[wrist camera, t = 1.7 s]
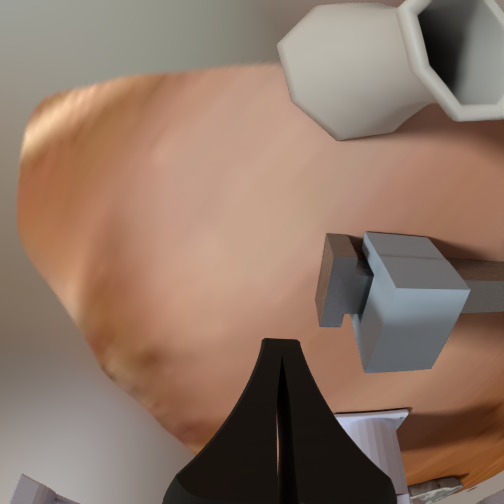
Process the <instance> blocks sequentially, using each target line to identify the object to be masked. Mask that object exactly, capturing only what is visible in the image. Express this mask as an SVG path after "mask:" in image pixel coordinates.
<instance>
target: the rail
mask: <svg viewBox="0 0 504 504" xmlns="http://www.w3.org/2000/svg"><path fill="white" fill-rule="evenodd" d="M445 259H446V260H448V261H449V263H450V264H451V265H452V266H453V268H454V269H455V270H456V271H457V273H458V274H459V275H460V276H461V278H462V279H463V280H464V282H465V283H466V284H467V286H468V287H469V288H470V293H469V295H468V297H467V300H466V302H465V304H464V306H463V308H462V311H461V313H485V312H504V262H494V261H480V260H466V259H452V258H445ZM373 278H374V273H373V271H372V269H371V267H370V265H369V263H368V260H367V258H366V256H365V254H364V252H355V250H354V248H353V246H352V244H351V242H350V239H349V237H348V235H340V234H327V233H326V238H325V245H324V251H323V257H322V264H321V270H320V275H319V281H318V287H317V292H316V298H315V301H316V307H317V313H318V320H319V327H341V324H342V321H343V317H344V314H363V313H364V310H365V306H366V303H367V299H368V296H369V292H370V289H371V285H372V282H373Z"/></svg>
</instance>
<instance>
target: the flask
mask: <svg viewBox="0 0 504 504" xmlns="http://www.w3.org/2000/svg"><path fill="white" fill-rule="evenodd" d="M277 48H278V51H279V56H280V59H281V63H282V67H283V70H284V74H285V78H286V82H287V86H288V90H289V94H290V98H291V102H293V103H294V104H295V105H296V106H298V107H299V108H300V109H301V110H302V111H303V112H305V113H306V114H307V115H308V116H309V117H310V118H312V119H313V120H314V121H315V122H316V123H317V124H318V125H320V126H321V127H322V128H323V129H324V130H325V131H326V132H327V133H329V134H330V135H331V136H332V137H333V138H334V139H335V140H336V141H340V140H346V139H352V138H359V137H366V136H372V135H380V134H387V133H392V132H393V131H395V130H396V129H397V128H398V127H399V126H400V125H401V124H403V123H404V122H405V121H406V120H407V119H408V118H410V117H411V116H413V115H414V114H415V113H417V112H418V111H420V110H421V109H422V108H424V107H425V106H427V105H428V104H433V103H438V104H439V105H440V107H441V108H442V109H443V111H444V112H445V113H446V115H447V116H448V117H449V118H450V119H452V120H453V121H458V122H463V121H484V120H504V10H503V9H502V7H501V6H500V5H499V3H498V2H497V1H496V0H406V1H405V2H403V3H402V5H400V6H399V7H398V8H396V7H391V6H388V5H384V4H381V3H376V2H354V3H339V4H328V5H319V6H315V7H314V8H313V9H312V10H311V11H310V12H309V13H308V14H307V15H306V16H305V17H304V18H303V19H302V20H301V21H300V22H299V23H298V24H297V25H296V26H295V27H294V28H293V29H292V30H291V31H290V32H289V33H288V34H287V35H286V36H285V37H284V38H283V39H282V40H281V41H280V42H279V43H278V44H277Z"/></svg>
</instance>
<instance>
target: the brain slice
mask: <svg viewBox="0 0 504 504" xmlns="http://www.w3.org/2000/svg"><path fill="white" fill-rule="evenodd" d="M463 486H464V485H463V483H462V482H461V481H459V480H457V479H455V478H445V479H444V478H442V479H437V480H431V481H426V482H423V483H420V484H415V485H412V486H408V487H407V488H408V493H409V494H410V500H411V504H413V499H415V498H419V499H420V500H423V501H425V504H431V503H433V502H436V501H438V500H440V499H442V498H444V497H447V496H449V495H451V494H452V493H454V492H456V491H458V490H459V489H460V488H462V487H463Z"/></svg>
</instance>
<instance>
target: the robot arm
mask: <svg viewBox="0 0 504 504" xmlns="http://www.w3.org/2000/svg"><path fill="white" fill-rule="evenodd" d="M276 409H277V411H276ZM408 414H409V412H408V410H407V409H403V410H394V411H383V412H371V413H355V414H333V413H332V411H331V410H330V408H329V406H328V405H327V403H326V401H325V400H324V398H323V396H322V394H321V392H320V391H319V389H318V387H317V385H316V383H315V380H314V378H313V376H312V374H311V372H310V370H309V367H308V365H307V363H306V360H305V357H304V355H303V352H302V349H301V345H300V342H299V341H298V340H295V339H273V338H264V339H263V340H262V344H261V349H260V353H259V356H258V359H257V362H256V365H255V367H254V370H253V372H252V374H251V377H250V379H249V381H248V383H247V385H246V387H245V389H244V391H243V393H242V395H241V396H240V398H239V400H238V402H237V403H236V405H235V407H234V408H233V410H232V411H231V413H230V415H229V416H228V418H227V419H226V420H225V422H224V423H223V424H222V426H221V427H220V429H219V430H218V431H217V432H216V434H215V435H214V436H213V437H212V439H211V440H210V441H209V442H208V443H207V444H206V446H205V447H204V448H203V449H202V450H201V451H200V452H199V453H198V454H197V455H196V456H195V458H194V459H193V460H192V461H190V462H189V463H188V464H187V465H186V466H185V467H184V468H183V469H182V470H181V471H180V472H179V473H177V474H176V476H175V477H174V479H173V481H172V482H171V484H170V486H169V487H168V489H167V491H166V493H165V496H164V499H163V503H162V504H411V500H410V494H409V493H408V488H407V483H406V477H405V472H404V467H403V462H402V457H401V452H400V448H399V443H398V438H397V434H396V430H397V429H398V428H399V426H400V425H401V424H402V422H403V421H404V420H405V418H406V417H407V415H408ZM277 424H278V439H279V463H278V474H277ZM9 504H79V503H77V502H74V501H72V500H69V499H67V498H65V497H63V496H60V495H58V494H56V493H55V492H54V491H53V490H52V489H50V488H48V487H47V486H45V485H43V484H41V483H39V482H37V481H35V480H33V479H31V478H30V477H28V476H26V475H24V474H21V475H20V477H19V480H18V483H17V485H16V487H15V490H14V492H13V495H12V498H11V500H10V503H9ZM413 504H425V501H423V500H420V499H419V498H415V499H413ZM477 504H504V490H501V491H499V492H497V493H495V494H493V495H491V496H488V497H487V498H485V499H483V500H481V501H480V502H478V503H477Z"/></svg>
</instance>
